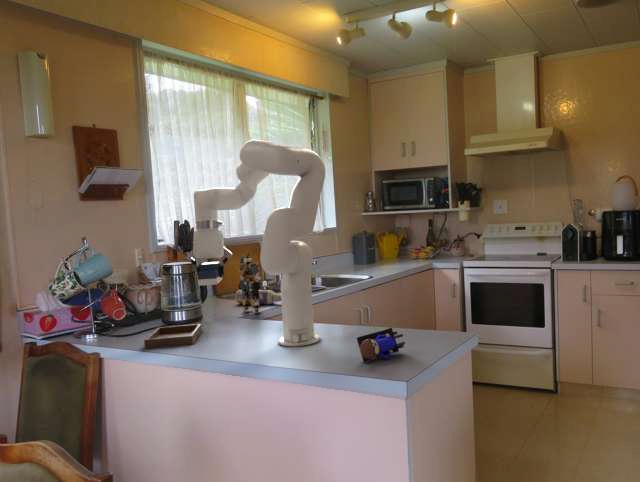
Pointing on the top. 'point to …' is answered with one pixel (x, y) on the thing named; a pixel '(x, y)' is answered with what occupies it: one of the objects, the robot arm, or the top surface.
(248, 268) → the toy
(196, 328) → the tray
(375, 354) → the character figurine
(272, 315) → the top surface
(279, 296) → the decorative bottle
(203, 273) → the navy stepped block
